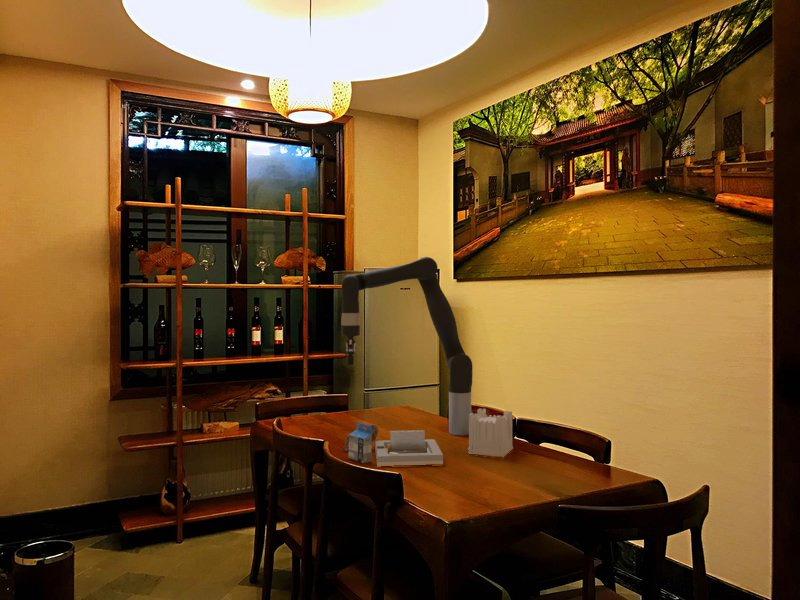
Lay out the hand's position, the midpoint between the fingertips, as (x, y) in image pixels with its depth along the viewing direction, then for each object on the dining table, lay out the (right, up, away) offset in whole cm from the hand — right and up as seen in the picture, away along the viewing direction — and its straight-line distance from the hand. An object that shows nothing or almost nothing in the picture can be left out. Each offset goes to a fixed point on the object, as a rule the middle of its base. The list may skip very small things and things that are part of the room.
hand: (350, 363), depth 244 cm
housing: (+23, -29, -33) cm, 50 cm away
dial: (+23, -28, -33) cm, 49 cm away
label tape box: (+6, -30, -36) cm, 47 cm away
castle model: (+52, -30, -26) cm, 65 cm away
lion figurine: (+6, -30, -22) cm, 38 cm away
